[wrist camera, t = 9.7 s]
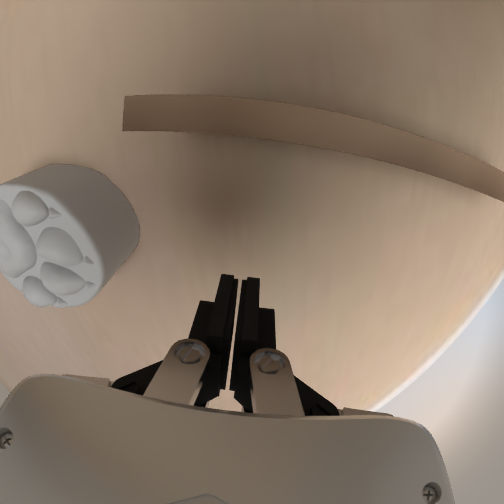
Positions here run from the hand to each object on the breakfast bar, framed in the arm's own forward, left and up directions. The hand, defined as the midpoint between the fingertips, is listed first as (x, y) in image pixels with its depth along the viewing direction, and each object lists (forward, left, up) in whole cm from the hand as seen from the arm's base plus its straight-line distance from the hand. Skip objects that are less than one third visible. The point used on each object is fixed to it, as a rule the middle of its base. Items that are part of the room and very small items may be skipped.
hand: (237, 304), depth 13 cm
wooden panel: (-8, +9, -12) cm, 16 cm away
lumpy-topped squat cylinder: (+2, -16, -12) cm, 20 cm away
